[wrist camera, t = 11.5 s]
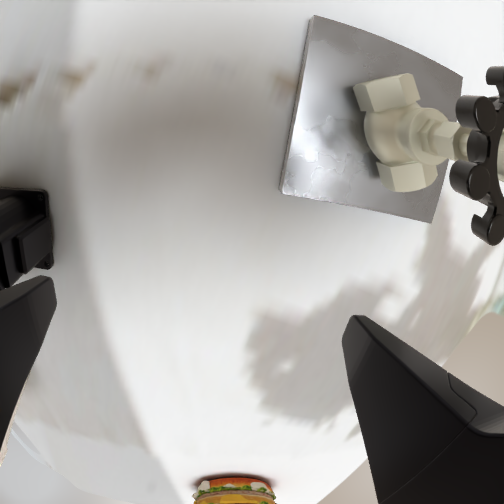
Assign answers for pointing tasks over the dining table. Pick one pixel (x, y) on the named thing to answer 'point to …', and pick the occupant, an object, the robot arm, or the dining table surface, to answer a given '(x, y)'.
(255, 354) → the dining table surface
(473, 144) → the valve
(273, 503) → the burger
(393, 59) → the steel seat plate
